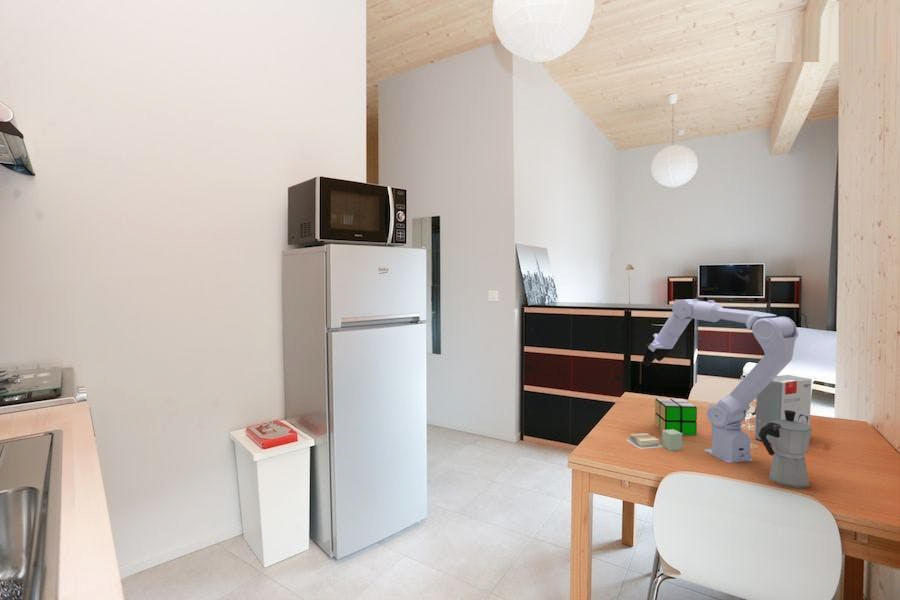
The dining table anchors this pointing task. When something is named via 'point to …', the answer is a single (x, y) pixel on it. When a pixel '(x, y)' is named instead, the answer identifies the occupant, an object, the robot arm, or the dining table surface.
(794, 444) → the coffee maker
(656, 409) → the puzzle cube
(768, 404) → the hard drive box
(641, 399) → the dining table surface
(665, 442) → the green block
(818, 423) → the dining table surface
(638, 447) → the building mat
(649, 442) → the base block
